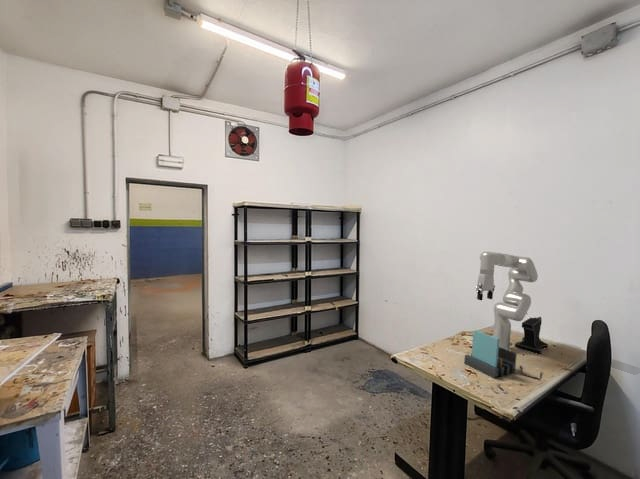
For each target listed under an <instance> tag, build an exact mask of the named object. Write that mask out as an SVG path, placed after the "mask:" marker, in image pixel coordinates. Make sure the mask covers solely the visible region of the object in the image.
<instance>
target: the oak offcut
mask: <svg viewBox="0 0 640 479" xmlns="http://www.w3.org/2000/svg"><path fill="white" fill-rule="evenodd" d="M497 364H498V365H501V366H502V359H501V358H499V357H498V362H497Z"/></svg>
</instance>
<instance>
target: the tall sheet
mask: <svg viewBox="0 0 640 479" xmlns="http://www.w3.org/2000/svg"><path fill="white" fill-rule="evenodd" d="M471 344H472V345H471V347H472V348H471V354H472V357H474V358H477V359H479V360H481V361H483V362H485V363H487V364H489V365H492V366H494V367H496V368H497V362H498V350H499V339H498V338H495V337H493V335H490V334H487V333H485V332H481V331H478V330H477V329H474V330H473V332H472V343H471Z"/></svg>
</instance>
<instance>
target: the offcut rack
mask: <svg viewBox="0 0 640 479" xmlns="http://www.w3.org/2000/svg"><path fill="white" fill-rule="evenodd" d="M517 354H518V353H516V352H513V351H509V350H506V349H504V348H501V347H499V350H498V357H499V358H501V359H502V366H501V365H498V364H497V368H496V367H494V366H492V365H489V364H487V363H485V362H483V361H481V360H479V359H477V358H474V357H472V353H470V354H464V360H463V361H464V362H463V363H464V365H466V366H468V367H470V368H472V369H473V370H476V371H477V372H480V373H482V374H484V375H486V376H488V377H490V378H491V379H494V380H496V379H500V378H504V377H506V376H511V375H513V374H515V373H516V368H517V365H516V364H517Z"/></svg>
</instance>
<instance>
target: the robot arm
mask: <svg viewBox="0 0 640 479" xmlns="http://www.w3.org/2000/svg"><path fill="white" fill-rule="evenodd" d="M479 260H480V265H479V266H480V268H479V274H478V278H477V282H476V286H475V289H476V290H475V291H476V294H477V296H476V299H477V300H478V301H483V300H484V298H483V297H484V294H483V293H484V292H487V294H486V298H487V299H489V300H493V296H494V291H495V288H496V285H495V283H494V282H495V280H494V279H495V278H494V274H495V266H498V267H503V268H504V267H505V268H510V269H509V270H508V272H507V273H508V274H507V275H508V276H507V277H508V281H509V283H508V284H509V285H508V287H507V289H506V291H505V293H504V294H503V296H502V301H503V302H501V301H500V302H497V303H495V304H494V305H493V306H494V307H493V314H494V322H493V335H492V337H495V338H498V339H499V347H501V348H504V349H506V350H509V351H512V348H510V346H513V343H512V342H510V340H511V330H512V323H511V321H510V320H512V321H515V322H521V321H522V322H523V320H524V318H526V315H527V313H528V311H529V310H530V307H531V305H532V297H531V296H530V295H529V294H526V293H524V287H523V285H522V283H521V282H527V283H535V282H537V281H538V272H537V269H536V266H535V263H534V261H533V260H532V259H531V258H530V257H528V256H518V255H513V254H508V253H502V252H495V251H483V252H481V253H480V254H479ZM512 352H513V351H512Z"/></svg>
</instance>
